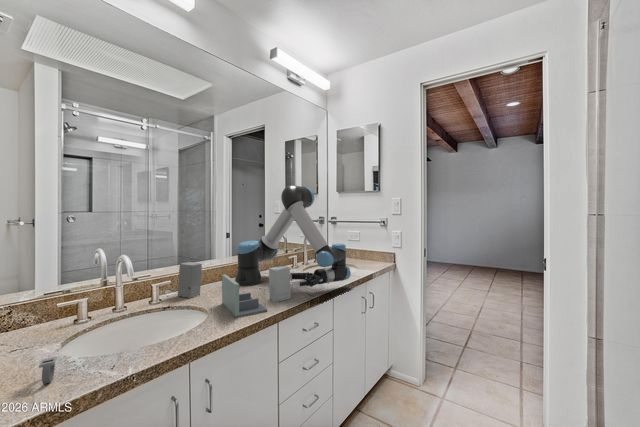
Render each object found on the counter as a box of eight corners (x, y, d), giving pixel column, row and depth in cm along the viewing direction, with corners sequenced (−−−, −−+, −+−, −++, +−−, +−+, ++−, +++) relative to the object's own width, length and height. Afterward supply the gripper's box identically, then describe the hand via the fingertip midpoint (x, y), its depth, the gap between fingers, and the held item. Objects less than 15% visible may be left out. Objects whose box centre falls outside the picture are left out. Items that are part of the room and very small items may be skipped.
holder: (222, 303, 124) (222, 274, 124) (250, 298, 131) (250, 271, 131) (235, 318, 107) (235, 284, 107) (267, 311, 114) (267, 279, 114)
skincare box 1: (177, 296, 134) (177, 263, 134) (189, 292, 141) (189, 261, 141) (190, 298, 131) (190, 265, 131) (202, 294, 138) (202, 262, 138)
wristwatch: (43, 377, 69) (43, 356, 69) (58, 373, 71) (58, 353, 71) (37, 390, 64) (36, 368, 64) (53, 385, 66) (53, 364, 65)
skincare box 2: (284, 296, 135) (283, 265, 135) (290, 299, 131) (290, 267, 131) (268, 299, 130) (268, 267, 130) (275, 302, 125) (275, 269, 125)
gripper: (338, 288, 133) (299, 296, 121) (310, 278, 153) (274, 284, 142) (338, 273, 133) (298, 279, 121) (310, 264, 153) (274, 269, 142)
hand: (285, 281), depth 131 cm, fingers open, 13 cm apart
